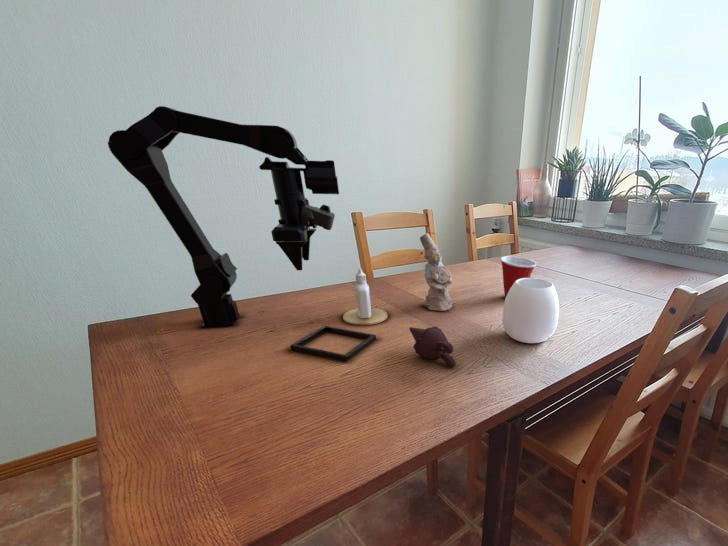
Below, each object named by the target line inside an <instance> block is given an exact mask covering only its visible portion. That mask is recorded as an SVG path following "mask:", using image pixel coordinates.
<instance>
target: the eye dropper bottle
mask: <svg viewBox="0 0 728 546" xmlns="http://www.w3.org/2000/svg"><path fill="white" fill-rule="evenodd" d="M354 275H355V285H354V294H355V304H356V309H357V313H358V316H359V318H361V319H364V318H370V317H371V308H372V306H371V305H372V304H371V293H370V286H369V284H368V283H367V274H366V273H364V272H363V270H362V268H358V271H357V272H356V273H355V274H354Z"/></svg>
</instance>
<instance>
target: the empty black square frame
mask: <svg viewBox="0 0 728 546" xmlns="http://www.w3.org/2000/svg"><path fill="white" fill-rule="evenodd" d="M325 333H331V334H337V335H342V336H346V337H347V336H348V337H351V338H352V337H353V338H356V339H357V338H358V339H362V340H364V341H362V342H361V343H359V344H358V345H356V346H355V347H354V348H352V349H351V350H350V351H348V352H347V353H345V354H344V353H343V354H342V353H339V352H333V351H329V350H323V349H318V348H315V347H308V346H305V345H306V344H308V343H310V342H311V341H313V340H315V339H316V338H319V337H320V336H321V335H323V334H325ZM376 340H377V334H372V333H368V332H361V331H356V330H352V329H346V328H341V327H336V326H330V325H324V326H322V327H319V328H318V329H317V330H315V331H313V332H311V333H309V334H308V335H305V336H304V337H303V338H301V339H299V340H297V341H296V342H294V343H292V344H290V345H289V346H290V350H291V351H293V352H298V353H303V354H309V355H313V356H318V357H322V358H326V359H332V360H337V361H341V362H344V363H345V362H346V363H347V362H348V361H350V360H351V359H352V358H355V356H357V355H358V354H359V353H361V352H362V351H363V350H365V349H366V348H367V347H369V346H370V345H371V344H372V343H374V342H375V341H376Z"/></svg>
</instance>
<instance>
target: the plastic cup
mask: <svg viewBox="0 0 728 546" xmlns="http://www.w3.org/2000/svg"><path fill="white" fill-rule="evenodd" d="M500 262H501V270H502V281H503V290H504V292H503V293H504V298H505V299H506V296H507V294H508V292H509V290H510V288H511V287H512V285H513V284H514V282H515V281H516V280H518V279H521V278H531V277H532V276H531V275H532V273H533V271H534V269H535V267H537V262H536V261H534V260H532V259H528V258H526V257H521V256H513V255H505V256H501V257H500Z"/></svg>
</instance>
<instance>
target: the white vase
mask: <svg viewBox="0 0 728 546" xmlns="http://www.w3.org/2000/svg"><path fill="white" fill-rule="evenodd" d="M559 313H560V301H559V296H558V293H557V289H556V287H555V285H554V284H553V282H551V281H549V280H547V279H543V278H539V277H538V278H537V277H530V278H521V279H518V280H516V281H515V282H514V284H513V285H512V287H511V288H510V290H509V292H508V294H507V296H506V298H505V299H504V304H503V309H502V318H501V320H502V321H501V322H502V327H503V329H504V331H505V332H506V334H507V335H508V336H509V337H510V338H511V339H512V340H515V341H517V342H520V343H526V344H539V343H543V342H545V341H547V339H549V338H550V337H551V336H553V334H554V332H555V331H556V330H557V328H558V323H559V315H560V314H559Z"/></svg>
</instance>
